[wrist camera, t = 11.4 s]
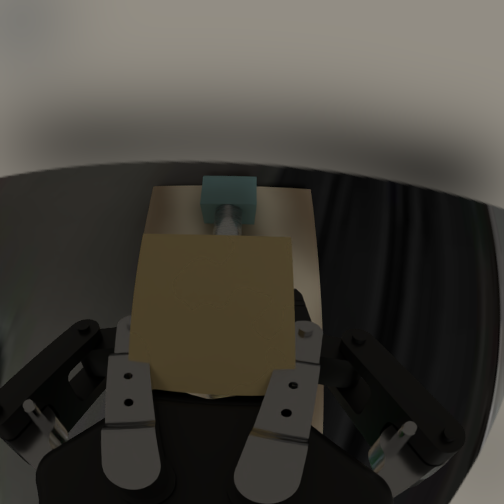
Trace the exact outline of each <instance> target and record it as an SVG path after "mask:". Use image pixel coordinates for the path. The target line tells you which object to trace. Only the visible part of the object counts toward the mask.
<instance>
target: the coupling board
mask: <svg viewBox="0 0 504 504" xmlns="http://www.w3.org/2000/svg"><path fill="white" fill-rule="evenodd" d="M144 234H195V235H239V236H273V237H291V240H292V259H293V282H294V289H297V290H298V291H299V292H300V293H301V294H302V296H303V299H304V301H305V304H306V307H307V310H308V313H309V316H310V318H311V321H312V322H313V323H316V324H317V325H319V326H320V327H321V329H322V311H321V293H320V278H319V265H318V253H317V242H316V232H315V222H314V213H313V205H312V196H311V189H297V188H279V187H257V177H247V176H203V183H202V186H154V187H153V191H152V196H151V200H150V205H149V210H148V215H147V220H146V225H145V230H144ZM189 394H192V395H195V396H199V397H202V398H206V399H217V398H223V397H230V396H236V395H213V394H197V393H189ZM311 425H312V426H313V427H314V428H316V429H317V430H318V431H319V432H321V433H322V434H323V385H320V384H318V387H317V393H316V400H315V406H314V412H313V417H312V423H311Z"/></svg>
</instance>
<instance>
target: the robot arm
mask: <svg viewBox="0 0 504 504" xmlns="http://www.w3.org/2000/svg"><path fill="white" fill-rule="evenodd" d="M294 311H295V369H277V370H273V373H272V376H271V379H270V382H269V385H268V388H267V391H266V393H265V396H241V395H236V396H230V397H223V398H217V399H206V398H202V397H199V396H195V395H192V394H189V393H185V392H175V391H166V390H158V389H154V386H153V381H152V375H151V370H150V364H149V363H144V362H137V361H130V360H128V355H129V339H130V326H131V315H129V316H126V317H124V318H122V319H121V320H120V321H119V322H118V324H117V327H114V328H106V329H100V327H99V324H98V323H97V322H96V321H94V320H90V319H86V320H81V321H78V322H77V323H75V324H74V325H72V326H71V327H70V328H69V329H68V330H66V331H65V332H64V333H63V334H61V335H60V336H59V337H58V338H57V339H56V340H54V341H53V342H52V343H51V344H50V345H48V346H47V347H46V348H45V349H44V350H43V351H41V352H40V353H39V354H38V355H37V356H36V357H35V358H33V359H32V360H31V361H30V362H29V363H28V364H27V365H25V366H24V367H23V368H22V369H21V370H20V371H19V372H18V373H17V374H16V375H14V376H13V377H12V378H11V379H10V380H9V381H8V382H7V383H6V384H5V385H4V386H3V387H2V388H0V437H1V438H2V439H3V441H4V442H5V443H6V444H7V445H8V446H9V447H10V448H11V449H13V450H14V451H15V452H16V453H17V454H18V455H19V456H20V457H21V458H22V459H23V460H24V461H26V462H27V463H28V464H30V465H31V466H33V467H34V468H35V469H36V470H37V471H36V484H37V490H38V496H39V504H393V498H394V497H396V496H397V495H399V494H400V493H402V492H403V491H405V490H406V489H407V488H409V487H414V486H416V485H418V484H419V483H420V482H422V481H423V480H424V479H426V478H428V477H430V476H431V475H432V474H433V473H435V472H436V471H437V470H438V469H440V468H441V467H442V466H443V465H444V464H445V463H447V462H448V460H449V459H450V458H451V457H452V456H453V455H454V454H455V453H456V452H457V451H458V450H459V449H460V448H461V447H462V446H463V444H464V442H465V432H464V429H463V427H462V426H461V425H460V424H459V423H458V422H457V421H456V420H455V419H454V417H453V416H452V415H451V414H450V413H449V412H448V411H447V410H446V409H445V408H444V407H443V406H442V405H441V404H440V403H439V402H438V401H437V400H436V399H435V398H434V397H433V396H432V395H431V394H430V393H429V392H428V391H427V390H426V389H425V388H424V387H423V386H422V385H421V384H420V383H419V382H418V381H417V380H416V379H415V378H414V377H413V376H412V375H411V374H410V373H409V372H408V371H407V370H406V369H405V368H404V367H403V366H402V365H401V364H400V363H399V362H398V361H397V360H396V359H395V358H394V357H393V356H392V355H391V354H390V353H389V352H388V351H387V350H386V349H385V348H384V347H383V346H382V345H381V344H380V343H379V342H378V341H377V340H376V339H375V338H374V337H373V336H372V335H371V334H370V333H368V332H366V331H364V330H360V329H350V330H347V331H345V332H344V333H343V335H342V338H338V337H332V336H327V335H324V334H323V331H322V329H321V327H320V326H319V325H317V324H316V323H313V322H312V321H311V318H310V316H309V313H308V310H307V307H306V304H305V301H304V299H303V296H302V294H301V293H300V292H299V291H298V290H297V289H294ZM80 361H81V362H82V365H83V368H82V369H81V370H80V371H79V372H78V373H77V374H76V376H75V377H74V378H73V379H72V380H71V381H70V382H69V381H68V375H69V373H70V371H71V370H72V369H73V368H74V367H75V366H76V365H77V364H78V363H79V362H80ZM361 377H362V378H363V379H364V380H365V381H364V380H363V379H362V378H361ZM365 382H366V383H367V384H368V385H369V386H368V385H367V384H366V383H365ZM318 384H320V385H326V386H328V388H329V389H330V391H331V392H332V394H333V395H334V396H335V398H336V399H337V401H338V402H339V403H340V405H341V406H342V408H343V409H344V410H345V412H346V413H347V415H348V416H349V417H350V419H351V420H352V422H353V423H354V424H355V426H356V427H357V428H358V430H359V431H360V433H361V434H362V435H363V437H364V438H365V439H366V441H367V442H368V444H369V445H370V446H371V448H370V450H369V454H368V457H369V461H370V463H371V467H372V468H373V471H372V470H371V469H369V468H368V467H367V466H365V465H364V464H362V463H361V462H359V461H358V460H357V459H355V458H354V457H352V456H351V455H350V454H348V453H347V452H346V451H344V450H343V449H341V448H340V447H339V446H337V445H336V444H335V443H333V442H332V441H331V440H330V439H328V438H327V437H326V436H324V435H323V434H322V433H321V432H319V431H318V430H317V429H316V428H314V427H313V426H312V425H311V423H312V417H313V412H314V406H315V400H316V393H317V387H318ZM105 389H106V404H105V418H104V419H102V420H101V421H99V422H97V423H96V424H94V425H93V426H91V427H90V428H88V429H86V430H85V431H83V432H81V433H80V434H78V435H77V436H75V437H73V438H72V439H70V440H68V432H69V431H70V430H71V429H72V428H73V426H74V425H75V424H76V423H77V422H78V420H79V419H80V418H81V417H82V416H83V415H84V413H85V412H86V411H87V410H88V409H89V407H90V406H91V405H92V404H93V403H94V402H95V400H96V399H97V398H98V397H99V396H100V395H101V393H102V392H103V391H104V390H105ZM67 440H68V441H67Z"/></svg>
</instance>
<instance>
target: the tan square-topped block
mask: <svg viewBox="0 0 504 504" xmlns="http://www.w3.org/2000/svg"><path fill="white" fill-rule="evenodd" d="M128 360H130V361H137V362H144V363H149V364H150V370H151V375H152V381H153V386H154V389H158V390H166V391H175V392H185V393H197V394H213V395H241V396H265V393H266V391H267V388H268V385H269V382H270V379H271V376H272V373H273V370H277V369H295V311H294V282H293V259H292V240H291V237H273V236H239V235H195V234H143V237H142V243H141V249H140V255H139V261H138V267H137V274H136V281H135V289H134V297H133V306H132V315H131V326H130V339H129V355H128Z"/></svg>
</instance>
